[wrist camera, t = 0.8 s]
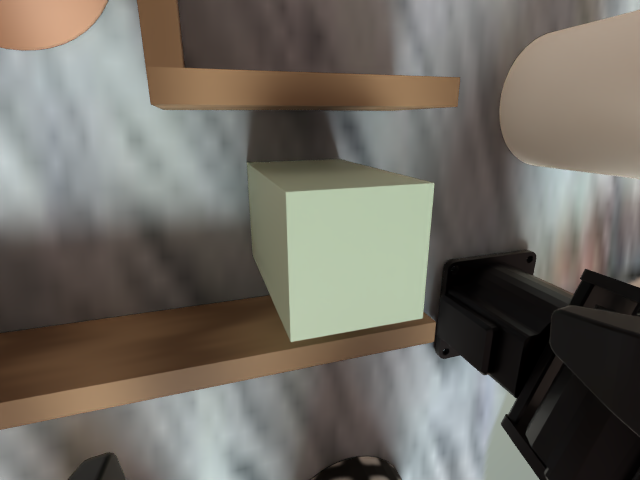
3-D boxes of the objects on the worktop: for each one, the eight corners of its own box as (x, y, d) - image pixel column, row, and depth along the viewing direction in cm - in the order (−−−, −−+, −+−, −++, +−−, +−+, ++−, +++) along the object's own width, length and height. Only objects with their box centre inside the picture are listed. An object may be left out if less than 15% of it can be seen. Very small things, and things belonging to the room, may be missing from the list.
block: (339, 158, 18) (434, 183, 11) (338, 246, 20) (422, 318, 12) (246, 162, 17) (285, 192, 10) (252, 255, 18) (290, 342, 11)
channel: (406, -162, 15) (495, -282, 11) (383, 295, 21) (434, 341, 17) (-322, -338, 9) (-812, -775, 5) (-65, 364, 16) (-172, 464, 11)
